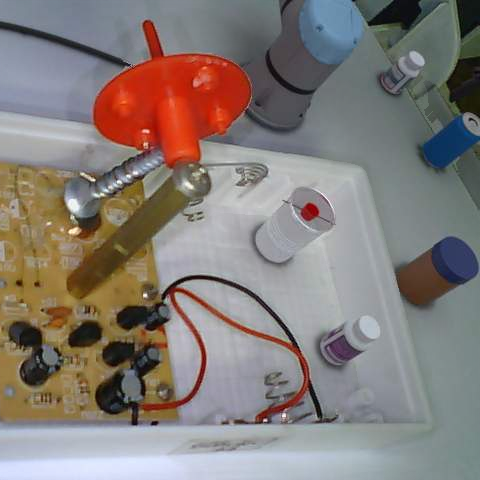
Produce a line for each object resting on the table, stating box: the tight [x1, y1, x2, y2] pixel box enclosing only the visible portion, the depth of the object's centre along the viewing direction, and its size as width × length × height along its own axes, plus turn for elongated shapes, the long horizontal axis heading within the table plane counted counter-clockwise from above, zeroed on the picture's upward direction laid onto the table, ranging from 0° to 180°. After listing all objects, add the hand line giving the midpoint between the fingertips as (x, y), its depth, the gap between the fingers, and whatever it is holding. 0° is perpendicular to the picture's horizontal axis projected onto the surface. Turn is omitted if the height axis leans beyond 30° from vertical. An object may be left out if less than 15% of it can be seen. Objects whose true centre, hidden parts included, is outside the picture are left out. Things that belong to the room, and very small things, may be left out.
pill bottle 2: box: [380, 50, 426, 95], centre depth 168 cm, size 5×5×9 cm
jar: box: [396, 246, 461, 307], centre depth 140 cm, size 8×8×11 cm
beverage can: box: [422, 111, 480, 169], centre depth 161 cm, size 6×6×12 cm
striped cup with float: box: [254, 185, 337, 264], centre depth 129 cm, size 10×8×12 cm
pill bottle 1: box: [319, 314, 381, 366], centre depth 124 cm, size 5×5×10 cm
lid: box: [431, 235, 480, 286], centre depth 136 cm, size 8×8×2 cm
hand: (470, 117), depth 157 cm, fingers open, 13 cm apart
